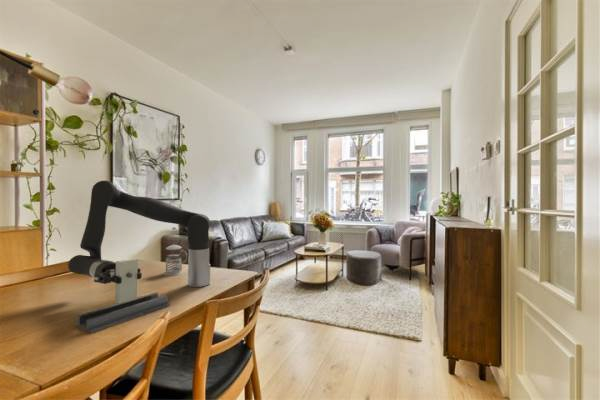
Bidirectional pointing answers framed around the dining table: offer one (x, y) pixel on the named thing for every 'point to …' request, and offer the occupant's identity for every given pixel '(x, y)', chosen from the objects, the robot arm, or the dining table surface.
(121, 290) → the door panel
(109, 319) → the track
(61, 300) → the dining table surface
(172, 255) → the french press
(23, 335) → the dining table surface
